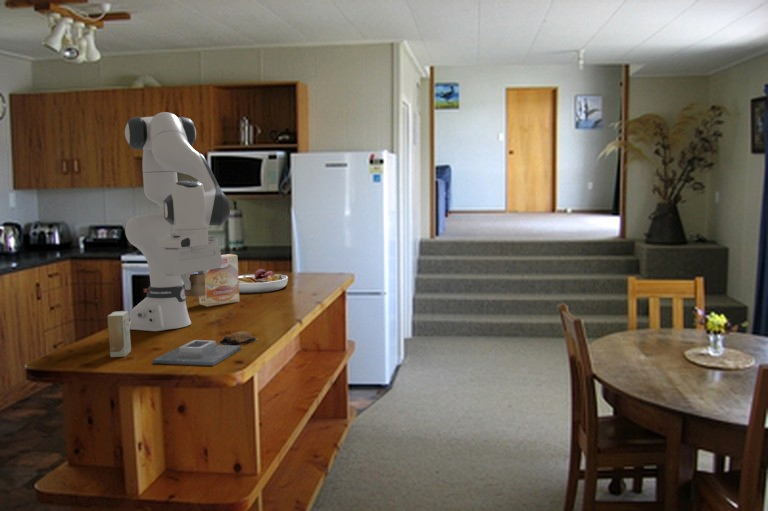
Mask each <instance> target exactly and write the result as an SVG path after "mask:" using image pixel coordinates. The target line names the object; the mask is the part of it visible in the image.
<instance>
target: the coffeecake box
mask: <svg viewBox="0 0 768 511" xmlns="http://www.w3.org/2000/svg"><path fill="white" fill-rule="evenodd" d="M221 258H222V265H221V267H220V268H216V269H211V270H207V275H206V278H205V289H206V295H204V296H200V297H198V300H199V305H201V306H205V307H212V306H218V305H225V304H232V303H233V304H234V303H239V302H240V293H239V279H238V276H239V262H238V261H239V260H238V255H237V254H232V253H227V254H221Z"/></svg>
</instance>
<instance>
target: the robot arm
mask: <svg viewBox="0 0 768 511" xmlns="http://www.w3.org/2000/svg"><path fill="white" fill-rule="evenodd" d="M124 136H125V139H126V142H127V144H128V146H129V148H131V149H133V150H137V151H142V150H143V152H142V163H141V164H142V179H143V180H142V182H143V192H144V195H145V197H146V198H147V199H148V200H149V201H151V202H153V203H155V204H157V205H158V208H159V209H160V212H161V213H147V214H141V215H140V214H139V215H137V216H133V217H130V219H128V221H127V223H126V226H125V229H124V234H125V237H126V239H127V240H128V242H129V244H130V245H132V246H133V247H135V248H137V250H139V251H140V252H141V253H142V255H143V256H144V259H145V261H146V262H147V265H148V272H149V281H150V285H149V286H148V287H147V288H143V293H146V294H145V295H146V296H145V297H144V299H143V300H141V301H140V302H139V303H137V305H135V306H134V307H133V308H132V309H131V311H130V315H129V328H130V330H136V331H148V332H160V331H166V330H174V329H175V330H176V329H180V328H185V327H188V326H190V325H192V321H191V319H190V316H189V315H190V314H189V312H188V306H187V303H186V302H187V301H186V300H187V296H185V291H184V283H185V289H186V290H190V289H193V283H191V282H190V280H189V277H190V274H191V273H193V274H195V273H197V274H205V278H206V275H207V270H211V269H216V268H220V267H221V265H222V258H221V255H222V252H221V247H220V245H219V240H218V239H217V238H216V236H209V228H208V227H209V226H217V227H218V226H222V225H223V224H224V223H225V222H226V221H227V220H228V218H230V215H231V206H230V202H229V199H228V197H227V196H226V194H225V193H224V192H223V191H222V189H221V187H220V185H219V183H218V181H217V179H216V177H215V174H214V173H213V170H212V169H211V167H210V165H209V163H208V161H207V159H206V158H205V156H204V155H203V154H202V153H201V152H198V151H197V150H195V149H194V147H193V145H194V144H195V142H196V139H197V130H196V127H195V124H194V121H193V120H191V118H188V117H185V116H180V117H178V116H177V115H176V114H174V113H172V112H167V111H166V112H165V111H162V112H159V113H157V114H155V115H153V116H144V117H141V116H136V117H131V118H130V119H129V120H128V121H127V122H126V126H125V129H124ZM179 173H180V174H183V175H188V176H190V177H192V178H194V179H195V180H180V181H178V174H179Z"/></svg>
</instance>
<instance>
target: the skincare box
mask: <svg viewBox="0 0 768 511" xmlns="http://www.w3.org/2000/svg"><path fill="white" fill-rule="evenodd" d="M129 322H130V314H129V310H124V311H123V310H119V311H113V312H111V313H110V314H108V315H107V329H108V340H109V355H110V358H119V357H120V358H121V357H123V358H124V357H125V358H126V356H128V355H129V354H130V353H131V352H132V344H131V343H132V342H131V329H130V328H129Z"/></svg>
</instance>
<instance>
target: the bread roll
mask: <svg viewBox="0 0 768 511" xmlns="http://www.w3.org/2000/svg"><path fill="white" fill-rule="evenodd" d="M256 341H257V342H258V341H260V340H259V339H258V338H255V337H254V336H253V335H252V334H250V333H249V332H247V331H242V330H241V331H235V332H233V333H232V334H230V335H229V336H227V335H226V336H224V337H223V338H222V340H221V341H219V342H218V343H219V345H233V346H242V345H245V344H250V343H253V342H256Z"/></svg>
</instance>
